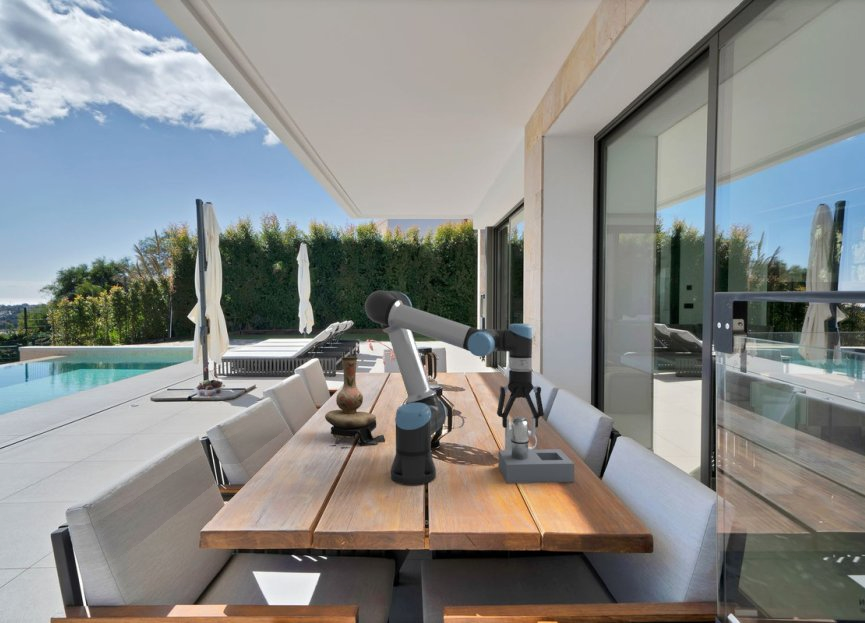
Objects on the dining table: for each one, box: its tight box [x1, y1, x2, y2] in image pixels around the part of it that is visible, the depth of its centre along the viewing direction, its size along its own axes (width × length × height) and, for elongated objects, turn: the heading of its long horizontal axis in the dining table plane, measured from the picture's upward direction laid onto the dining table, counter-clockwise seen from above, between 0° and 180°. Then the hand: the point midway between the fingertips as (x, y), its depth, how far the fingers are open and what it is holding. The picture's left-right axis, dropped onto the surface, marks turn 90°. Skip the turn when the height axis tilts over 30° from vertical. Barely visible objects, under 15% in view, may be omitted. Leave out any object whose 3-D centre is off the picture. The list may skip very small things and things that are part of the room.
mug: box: [504, 423, 538, 450], centre depth 168 cm, size 9×12×11 cm
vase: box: [324, 356, 386, 449], centre depth 188 cm, size 24×22×35 cm
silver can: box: [510, 415, 530, 460], centre depth 149 cm, size 6×6×13 cm
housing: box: [497, 448, 575, 484], centre depth 149 cm, size 22×14×6 cm, turn 93°
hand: (520, 436), depth 149 cm, fingers open, 8 cm apart
